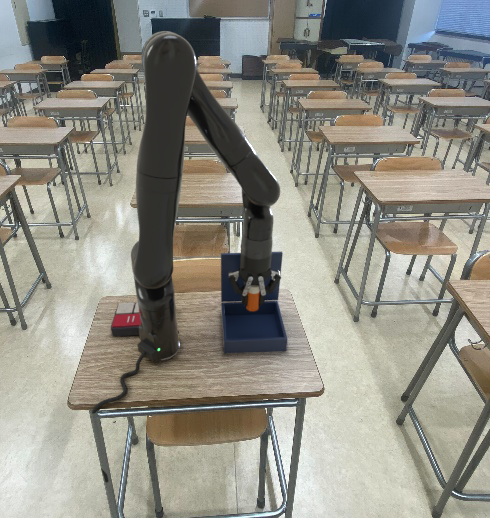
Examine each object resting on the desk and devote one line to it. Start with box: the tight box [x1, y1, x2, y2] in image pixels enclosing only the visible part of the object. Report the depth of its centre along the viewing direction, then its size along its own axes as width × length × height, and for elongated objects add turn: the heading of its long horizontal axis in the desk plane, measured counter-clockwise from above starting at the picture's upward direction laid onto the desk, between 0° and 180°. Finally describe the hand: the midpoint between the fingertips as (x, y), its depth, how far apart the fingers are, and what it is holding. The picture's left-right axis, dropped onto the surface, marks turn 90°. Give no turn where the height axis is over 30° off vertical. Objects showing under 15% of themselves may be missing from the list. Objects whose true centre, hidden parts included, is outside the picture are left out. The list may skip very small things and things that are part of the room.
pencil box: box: [220, 300, 288, 354], centre depth 111 cm, size 16×17×5 cm
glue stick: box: [246, 285, 260, 311], centre depth 104 cm, size 4×4×8 cm
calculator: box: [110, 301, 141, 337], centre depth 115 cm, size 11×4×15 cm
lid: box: [220, 251, 284, 303], centre depth 113 cm, size 16×17×5 cm
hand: (252, 303), depth 106 cm, fingers closed on glue stick, 3 cm apart
